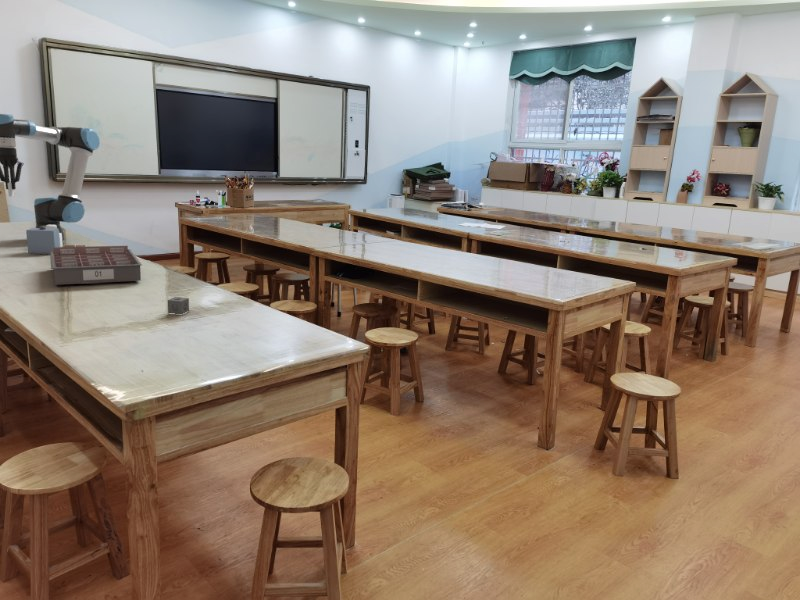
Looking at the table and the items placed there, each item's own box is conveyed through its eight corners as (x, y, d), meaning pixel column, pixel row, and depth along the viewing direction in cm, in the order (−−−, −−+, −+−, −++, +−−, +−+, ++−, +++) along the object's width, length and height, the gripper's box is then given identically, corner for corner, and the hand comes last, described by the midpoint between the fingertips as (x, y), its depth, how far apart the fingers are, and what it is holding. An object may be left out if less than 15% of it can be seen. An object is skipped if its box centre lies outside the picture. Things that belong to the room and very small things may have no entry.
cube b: (76, 253, 303) (76, 245, 303) (85, 253, 305) (85, 245, 304) (75, 254, 300) (75, 246, 299) (84, 254, 301) (84, 246, 300)
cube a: (66, 252, 303) (65, 244, 302) (75, 252, 304) (74, 245, 303) (64, 254, 299) (63, 246, 298) (73, 254, 300) (72, 246, 299)
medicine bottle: (47, 246, 317) (45, 223, 314) (62, 246, 319) (61, 223, 316) (44, 248, 310) (42, 225, 307) (59, 248, 312) (58, 225, 310)
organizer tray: (52, 288, 230) (50, 263, 227) (51, 269, 263) (49, 246, 261) (143, 284, 246) (142, 260, 243) (131, 266, 279) (130, 245, 277)
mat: (37, 250, 303) (37, 249, 303) (59, 251, 306) (59, 249, 305) (29, 254, 292) (28, 253, 292) (51, 255, 294) (51, 253, 294)
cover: (34, 250, 301) (31, 224, 298) (60, 250, 304) (58, 225, 301) (28, 252, 294) (25, 226, 291) (55, 253, 296) (53, 227, 293)
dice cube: (168, 314, 204) (167, 300, 203) (175, 310, 208) (175, 296, 207) (181, 315, 203) (181, 301, 202) (189, 312, 208) (188, 298, 207)
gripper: (-12, 146, 288) (-7, 196, 294) (18, 147, 291) (23, 197, 296) (-5, 146, 295) (-1, 195, 301) (24, 147, 298) (29, 196, 304)
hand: (11, 196), depth 299 cm, fingers closed
